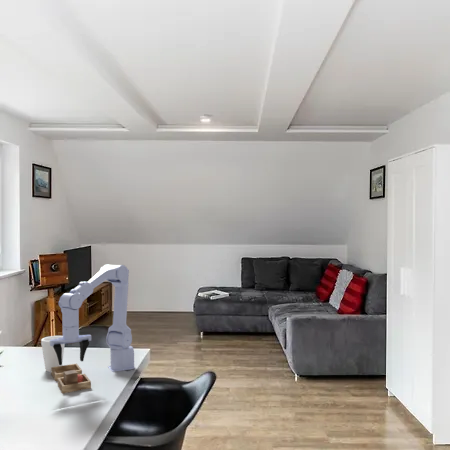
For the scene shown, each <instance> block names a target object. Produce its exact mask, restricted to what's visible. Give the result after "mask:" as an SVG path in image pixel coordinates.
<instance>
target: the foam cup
mask: <svg viewBox="0 0 450 450" xmlns="http://www.w3.org/2000/svg"><path fill="white" fill-rule="evenodd" d="M62 337H63V335H52V336H51V335H49V336H45V337H43V338H41V340H40V341H41V343H40V345H41V348H42V349H41V350H42V355H43V362H44V369H45V371H46V372H49V373H51V367H57V366H63V364H62V365H59V361H58V357H57V354H56V352H55V350H54V348H53V346H50V340H53V339H57V338H62ZM60 345H61V347H62V363H63V360H64V353H65V346H66V345H65V344H60Z"/></svg>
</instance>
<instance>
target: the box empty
mask: <svg viewBox="0 0 450 450" xmlns="http://www.w3.org/2000/svg"><path fill="white" fill-rule="evenodd" d="M70 370H75V371H76V372H77V373H78V375H80V374H83V370H82V368H81V366H80V365H79V364H78V363H72V364H71V363H70V364H64V365H62V366H57V367H51V372H50V373H51V374H50V375H51V376H52V377H53V380H54V381H55V382H58V378H62V377H64V372H65V371H70Z"/></svg>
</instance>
